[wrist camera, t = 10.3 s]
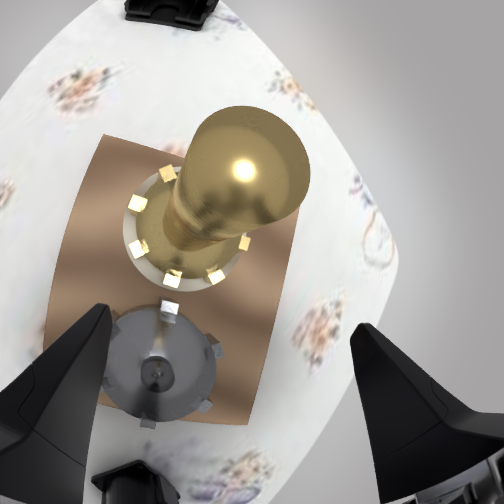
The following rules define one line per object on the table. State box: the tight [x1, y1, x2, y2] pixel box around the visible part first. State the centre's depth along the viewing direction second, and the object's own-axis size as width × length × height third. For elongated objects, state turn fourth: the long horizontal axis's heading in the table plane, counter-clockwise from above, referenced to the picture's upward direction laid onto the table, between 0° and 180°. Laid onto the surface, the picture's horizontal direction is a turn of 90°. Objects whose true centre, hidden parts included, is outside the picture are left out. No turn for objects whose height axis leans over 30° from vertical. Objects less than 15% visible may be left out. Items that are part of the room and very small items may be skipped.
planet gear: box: [128, 106, 310, 288], centre depth 13 cm, size 8×8×12 cm
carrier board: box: [43, 134, 300, 425], centre depth 19 cm, size 20×17×2 cm
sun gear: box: [99, 296, 225, 429], centre depth 16 cm, size 9×8×4 cm
